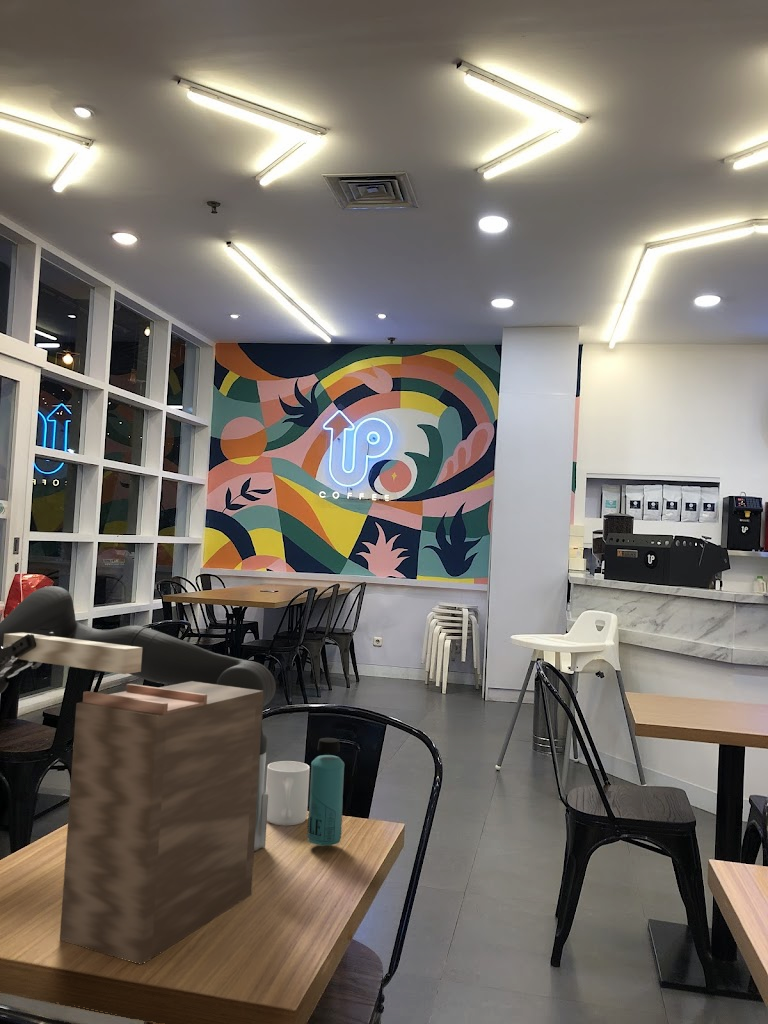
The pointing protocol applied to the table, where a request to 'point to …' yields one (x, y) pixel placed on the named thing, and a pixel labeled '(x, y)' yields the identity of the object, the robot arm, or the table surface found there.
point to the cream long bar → (81, 653)
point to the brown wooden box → (159, 814)
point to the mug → (287, 792)
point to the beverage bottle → (326, 795)
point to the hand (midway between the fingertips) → (43, 638)
